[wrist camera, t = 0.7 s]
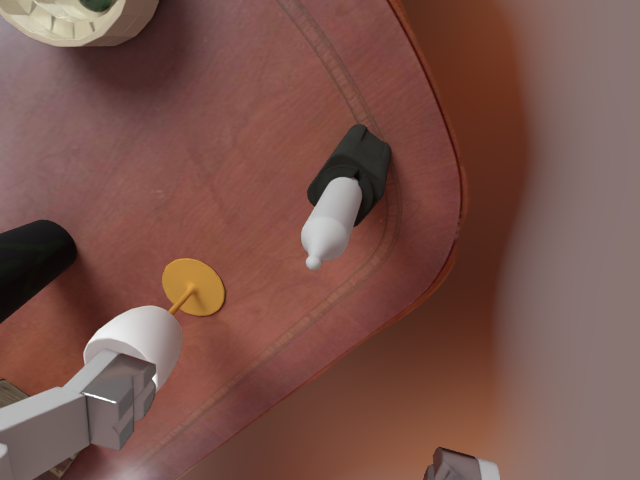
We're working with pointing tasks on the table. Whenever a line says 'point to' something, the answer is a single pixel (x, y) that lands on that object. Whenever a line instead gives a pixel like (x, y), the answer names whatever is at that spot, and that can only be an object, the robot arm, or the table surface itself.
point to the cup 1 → (31, 262)
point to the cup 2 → (162, 318)
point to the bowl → (78, 21)
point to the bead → (96, 5)
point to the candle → (344, 194)
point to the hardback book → (7, 394)
